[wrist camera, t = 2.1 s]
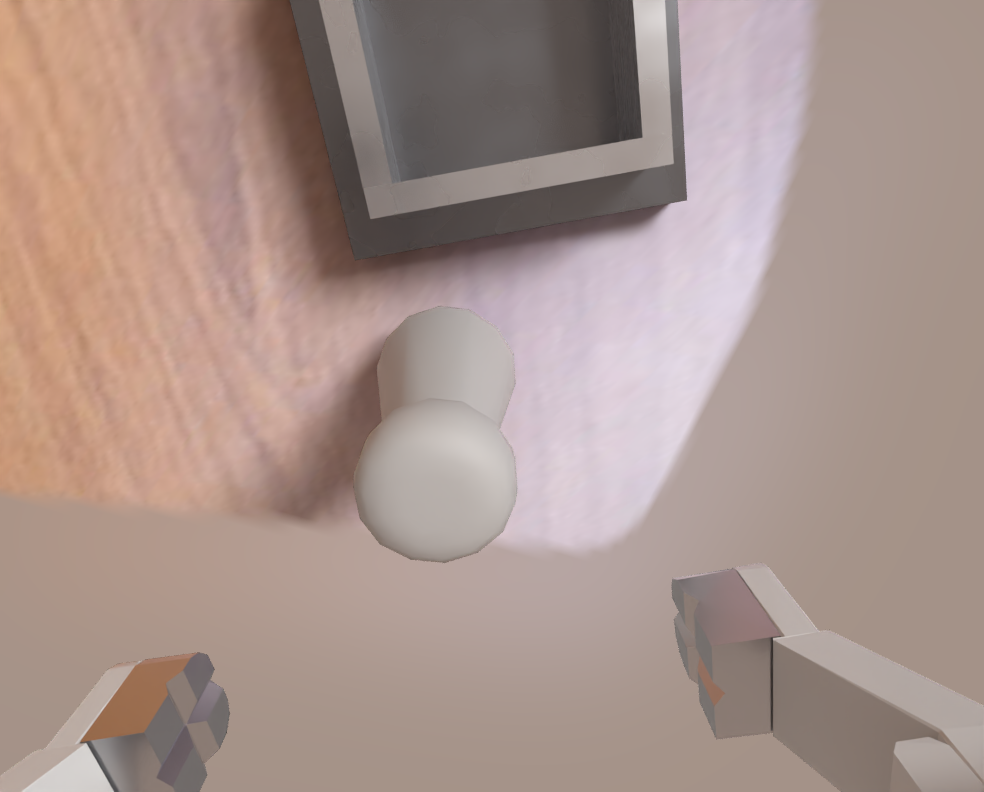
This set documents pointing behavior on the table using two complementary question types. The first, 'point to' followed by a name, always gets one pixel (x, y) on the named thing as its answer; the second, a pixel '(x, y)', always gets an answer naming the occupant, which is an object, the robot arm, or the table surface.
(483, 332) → the salt shaker
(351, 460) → the table surface
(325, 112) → the socket block
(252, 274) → the table surface
